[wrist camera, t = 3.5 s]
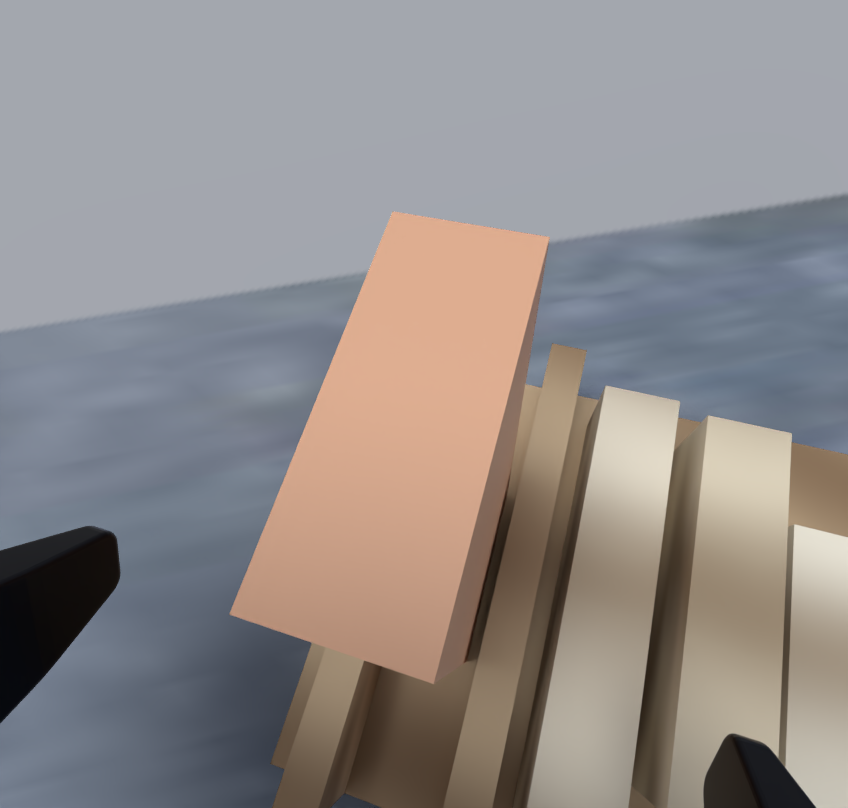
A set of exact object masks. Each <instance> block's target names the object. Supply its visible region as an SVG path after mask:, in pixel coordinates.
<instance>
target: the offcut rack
mask: <svg viewBox="0 0 848 808" xmlns="http://www.w3.org/2000/svg"><path fill="white" fill-rule="evenodd" d="M586 352H587V350H582V349H577V348H572V347H567V346H562V345H558V344H553V343H552V347H551V351H550V356H549V360H548V364H547V368H546V373H545V377H544V381H543V385H542V388H540V387H536V386H531V385H527V384H525V389H524V395H523V401H522V407H521V414H520V420H519V426H518V432H517V438H516V444H515V450H514V456H513V462H512V468H511V474H510V480H509V486H508V492H507V497H506V501H505V506H504V510H503V514H502V518H501V522H500V526H499V530H498V535H497V539H496V543H495V547H494V551H493V555H492V559H491V563H490V568H489V572H488V576H487V580H486V584H485V588H484V592H483V596H482V601H481V605H480V609H479V613H478V617H477V621H476V625H475V630H474V634H473V638H472V642H471V646H470V650H469V654H468V658H467V662H465V663H464V664H462V665H461V666H459V667H458V668H457V669H455V670H454V671H452V672H451V673H449V674H448V675H446V676H445V677H443V678H442V679H440V680H439V681H438V682H436V683H435V684H432V683H429V682H426V681H423V680H420V679H417V678H414V677H411V676H408V675H406V674H403V673H400V672H397V671H394V670H391V669H388V668H385V667H382V666H379V665H376V664H373V663H370V662H367V661H364V660H361V659H359V658H356V657H353V656H350V655H347V654H344V653H341V652H338V651H335V650H332V649H329V648H326V647H323V646H320V645H317V644H314V643H312V644H311V647H310V650H309V653H308V656H307V659H306V662H305V665H304V668H303V671H302V673H301V676H300V679H299V682H298V685H297V688H296V691H295V694H294V697H293V700H292V702H291V705H290V708H289V711H288V714H287V717H286V720H285V723H284V726H283V729H282V731H281V734H280V737H279V740H278V743H277V746H276V749H275V752H274V755H273V758H272V760H271V763H270V764H272V765H275V766H277V767H280V768H283V769H285V770H284V773H283V776H282V779H281V782H280V785H279V788H278V791H277V794H276V797H275V800H274V803H273V806H272V808H331V807H332V805H333V804H334V803H335V802H336V801H337V800H338V799H339V798H340V797H341V796H342V795H343V794H344V793H346V794H348V795H351V796H353V797H356V798H358V799H361V800H363V801H366V802H368V803H371V804H374V805H376V806H379V807H381V808H704V801H703V786H704V780H705V776H706V773H707V771H708V769H709V767H710V765H711V763H712V761H713V759H714V757H715V755H716V753H717V751H718V749H719V747H720V746H721V744H722V742H723V740H724V738H725V737H726V736H727V735H728V734H731V733H735V734H738V735H741V736H745V737H748V738H751V739H754V740H757V741H760V742H762V743H764V744H766V745H767V746H768V747H769V748H770V749H771V750H772V751H773V752H774V754H775V755H776V756H777V757H778V759H779V760H780V761H781V763H782V764H783V765H784V766H785V768H786V769H787V770H788V772H789V773H790V774H791V776H792V777H793V778H794V779H795V781H796V782H797V783H798V785H799V786H800V787H801V788H802V790H803V791H804V792H805V794H806V795H807V796H808V797H809V799H810V800H811V801H812V803H813V804H814V805H815V806H816V808H848V455H847V454H843V453H838V452H833V451H829V450H824V449H820V448H815V447H811V446H806V445H801V444H797V443H792V442H791V439H792V433H788V432H783V431H778V430H774V429H769V428H764V427H760V426H755V425H750V424H746V423H741V422H736V421H732V420H727V419H723V418H718V417H713V416H709V415H708V416H707V417H706V418H705V419H704V420H703V421H702V422H696V421H691V420H687V419H682V418H678V413H679V405H680V401H676V400H671V399H667V398H662V397H657V396H653V395H648V394H643V393H638V392H634V391H629V390H624V389H620V388H615V387H610V386H605V388H604V390H603V392H602V394H601V397H600V399H599V400H595V399H591V398H586V397H582V396H577V395H578V390H579V385H580V381H581V376H582V371H583V366H584V361H585V356H586Z"/></svg>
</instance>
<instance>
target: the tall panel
mask: <svg viewBox="0 0 848 808" xmlns="http://www.w3.org/2000/svg"><path fill="white" fill-rule="evenodd" d="M549 238H550V237H545V236H540V235H534V234H528V233H521V232H515V231H509V230H503V229H497V228H491V227H485V226H478V225H472V224H466V223H460V222H454V221H447V220H442V219H435V218H429V217H423V216H417V215H411V214H405V213H398V212H392V215H391V217H390V219H389V222H388V225H387V227H386V229H385V232H384V234H383V237H382V239H381V242H380V244H379V247H378V249H377V252H376V254H375V256H374V259H373V261H372V264H371V266H370V269H369V271H368V274H367V276H366V279H365V281H364V283H363V286H362V288H361V291H360V293H359V296H358V298H357V301H356V303H355V306H354V308H353V311H352V313H351V316H350V318H349V320H348V323H347V325H346V328H345V330H344V333H343V335H342V338H341V340H340V343H339V345H338V348H337V350H336V352H335V355H334V357H333V360H332V362H331V365H330V367H329V370H328V372H327V375H326V377H325V380H324V382H323V385H322V387H321V389H320V392H319V394H318V397H317V399H316V402H315V404H314V407H313V409H312V412H311V414H310V417H309V419H308V421H307V424H306V426H305V429H304V431H303V434H302V436H301V439H300V441H299V444H298V446H297V449H296V451H295V454H294V456H293V458H292V461H291V463H290V466H289V468H288V471H287V473H286V476H285V478H284V481H283V483H282V486H281V488H280V491H279V493H278V495H277V498H276V500H275V503H274V505H273V508H272V510H271V513H270V515H269V518H268V520H267V523H266V525H265V527H264V530H263V532H262V535H261V537H260V540H259V542H258V545H257V547H256V550H255V552H254V555H253V557H252V560H251V562H250V564H249V567H248V569H247V572H246V574H245V577H244V579H243V582H242V584H241V587H240V589H239V592H238V594H237V596H236V599H235V601H234V604H233V606H232V609H231V611H230V614H229V615H232V616H235V617H238V618H241V619H244V620H247V621H250V622H253V623H256V624H259V625H262V626H265V627H267V628H270V629H273V630H276V631H279V632H282V633H285V634H288V635H291V636H294V637H297V638H300V639H303V640H306V641H309V642H312V643H314V644H317V645H320V646H323V647H326V648H329V649H332V650H335V651H338V652H341V653H344V654H347V655H350V656H353V657H356V658H359V659H361V660H364V661H367V662H370V663H373V664H376V665H379V666H382V667H385V668H388V669H391V670H394V671H397V672H400V673H403V674H406V675H408V676H411V677H414V678H417V679H420V680H423V681H426V682H429V683H432V684H435V683H436V682H438V681H439V680H440V679H442V678H443V677H445V676H446V675H448V674H449V673H451V672H452V671H454V670H455V669H457V668H458V667H459V666H461V665H462V664H464V663H465V662H467V658H468V654H469V650H470V646H471V642H472V638H473V634H474V630H475V625H476V621H477V617H478V613H479V609H480V605H481V601H482V596H483V592H484V588H485V584H486V580H487V576H488V572H489V568H490V563H491V559H492V555H493V551H494V547H495V543H496V539H497V535H498V530H499V526H500V522H501V518H502V514H503V510H504V506H505V501H506V497H507V492H508V486H509V480H510V474H511V468H512V462H513V456H514V450H515V444H516V438H517V432H518V426H519V420H520V414H521V407H522V401H523V395H524V389H525V383H526V377H527V371H528V365H529V359H530V353H531V347H532V341H533V335H534V329H535V323H536V317H537V311H538V305H539V299H540V293H541V287H542V280H543V274H544V268H545V262H546V256H547V250H548V244H549Z"/></svg>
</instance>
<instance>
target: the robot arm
mask: <svg viewBox="0 0 848 808" xmlns="http://www.w3.org/2000/svg"><path fill="white" fill-rule="evenodd" d="M119 579H120V563H119V553H118V544H117V538H116V536H115V535H114V533H112V532H110V531H107V530H104V529H101V528H98V527H95V526H85V527H81V528H78V529H74V530H71V531H67V532H64V533H60V534H57V535H53V536H50V537H46V538H43V539H39V540H36V541H32V542H29V543H25V544H22V545H18V546H15V547H11V548H8V549H4V550H0V723H1V722H2V721H3V720H4V719H5V718H6V717H7V716H8V715H9V714H10V713H11V712H12V710H13V709H14V708H15V707H16V706H17V705H18V704H19V703H20V702H21V701H22V700H23V699H24V698H25V697H26V696H27V695H28V694H29V693H30V691H31V690H32V689H33V688H34V687H35V686H36V685H37V684H38V683H39V682H40V681H41V679H42V678H43V677H44V676H45V675H46V674H47V673H48V671H49V670H50V669H51V668H52V667H53V665H54V664H55V663H56V662H57V661H58V659H59V658H60V657H61V656H62V654H63V653H64V652H65V651H66V649H67V648H68V647H69V646H70V644H71V643H72V642H73V641H74V639H75V638H76V637H77V636H78V634H79V633H80V632H81V631H82V629H83V628H84V627H85V626H86V625H87V623H88V622H89V621H90V620H91V618H92V617H93V616H94V615H95V613H96V612H97V611H98V610H99V608H100V607H101V606H102V605H103V603H104V602H105V601H106V600H107V598H108V597H109V596H110V595H111V593H112V592H113V591H114V589H115V588H116V586H117V584H118V582H119ZM703 801H704V808H816V806H815V805H814V804H813V803H812V801H811V800H810V799H809V797H808V796H807V795H806V794H805V792H804V791H803V790H802V788H801V787H800V786H799V785H798V783H797V782H796V781H795V779H794V778H793V777H792V776H791V774H790V773H789V772H788V770H787V769H786V768H785V766H784V765H783V764H782V763H781V761H780V760H779V759H778V757H777V756H776V755H775V754H774V752H773V751H772V750H771V749H770V748H769V747H768V746H767V745H766V744H764V743H762V742H760V741H757V740H754V739H751V738H748V737H745V736H741V735H738V734H735V733H731V734H728V735H727V736H726V737H725V738H724V740H723V742H722V744H721V746H720V747H719V749H718V751H717V753H716V755H715V757H714V759H713V761H712V763H711V765H710V767H709V769H708V771H707V773H706V776H705V780H704V786H703Z"/></svg>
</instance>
